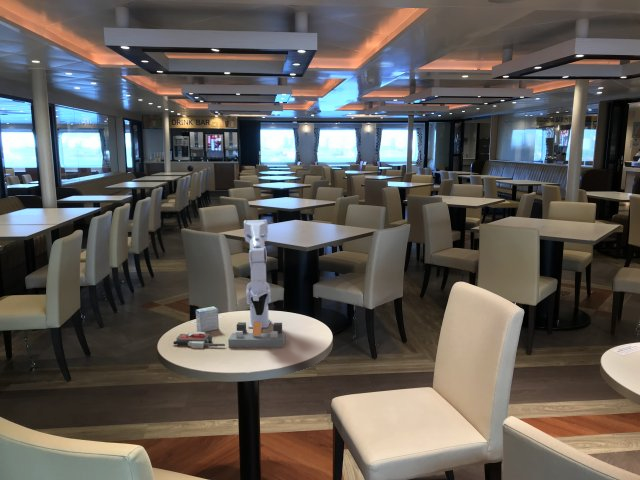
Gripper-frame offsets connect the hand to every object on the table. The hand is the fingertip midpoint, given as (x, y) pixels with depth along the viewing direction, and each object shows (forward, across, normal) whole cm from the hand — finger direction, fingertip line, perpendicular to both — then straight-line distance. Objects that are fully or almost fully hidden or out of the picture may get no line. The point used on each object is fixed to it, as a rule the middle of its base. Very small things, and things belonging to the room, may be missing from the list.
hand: (259, 313), depth 199 cm
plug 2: (+9, +2, -7) cm, 12 cm away
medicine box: (+10, +8, +23) cm, 26 cm away
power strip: (+9, -7, 0) cm, 12 cm away
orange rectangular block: (+6, -8, 0) cm, 10 cm away
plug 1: (+9, +2, +7) cm, 12 cm away
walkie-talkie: (+10, -7, +21) cm, 25 cm away
